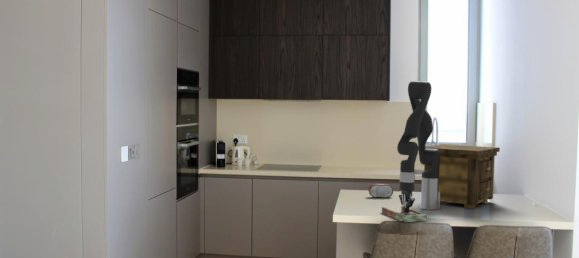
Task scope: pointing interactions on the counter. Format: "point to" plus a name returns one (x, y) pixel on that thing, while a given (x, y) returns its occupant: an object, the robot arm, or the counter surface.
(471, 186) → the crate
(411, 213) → the block
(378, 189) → the tin
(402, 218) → the track
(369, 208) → the counter surface
